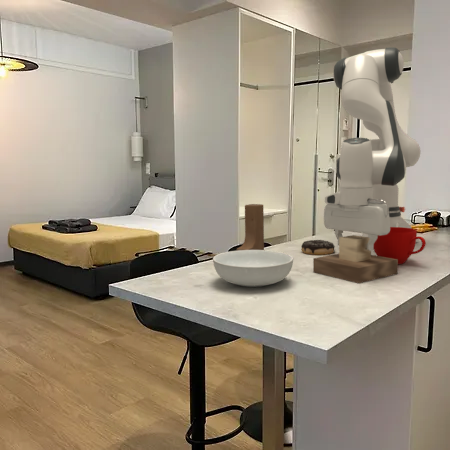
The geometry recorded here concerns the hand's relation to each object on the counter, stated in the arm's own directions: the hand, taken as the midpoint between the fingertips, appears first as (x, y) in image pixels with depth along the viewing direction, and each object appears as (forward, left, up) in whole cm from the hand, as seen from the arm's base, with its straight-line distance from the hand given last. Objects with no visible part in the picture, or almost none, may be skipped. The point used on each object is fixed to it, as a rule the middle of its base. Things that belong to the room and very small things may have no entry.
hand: (355, 247), depth 124 cm
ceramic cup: (-20, 0, -7) cm, 21 cm away
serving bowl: (+28, -10, -7) cm, 31 cm away
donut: (-15, -28, -8) cm, 33 cm away
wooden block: (+12, -32, -7) cm, 35 cm away
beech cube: (0, 0, -3) cm, 3 cm away
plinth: (0, 0, -7) cm, 7 cm away
